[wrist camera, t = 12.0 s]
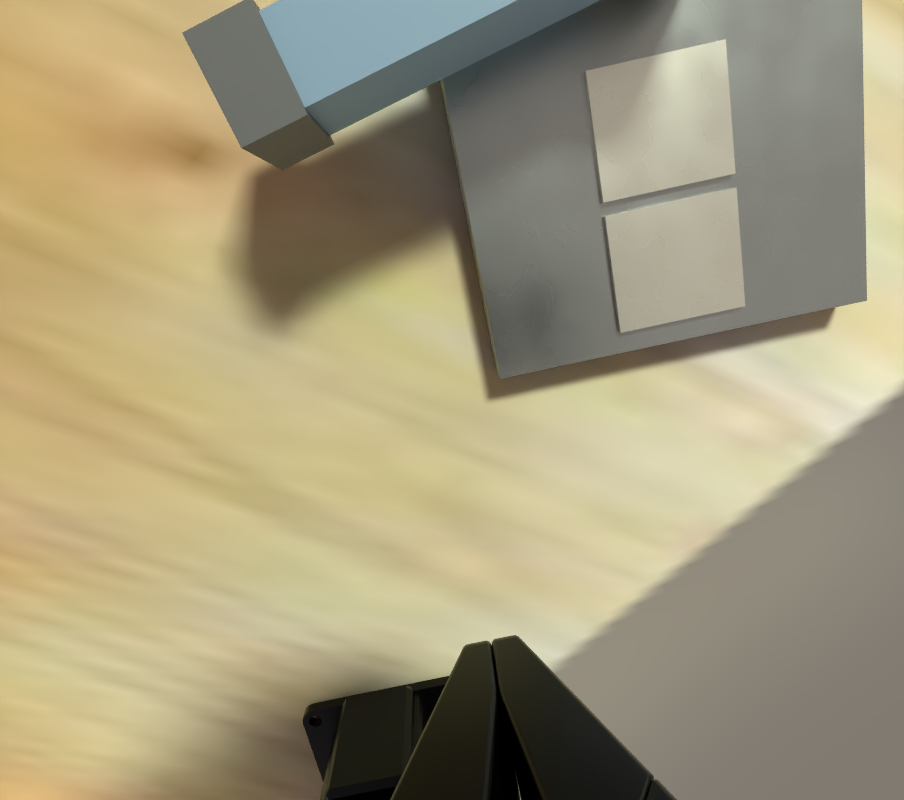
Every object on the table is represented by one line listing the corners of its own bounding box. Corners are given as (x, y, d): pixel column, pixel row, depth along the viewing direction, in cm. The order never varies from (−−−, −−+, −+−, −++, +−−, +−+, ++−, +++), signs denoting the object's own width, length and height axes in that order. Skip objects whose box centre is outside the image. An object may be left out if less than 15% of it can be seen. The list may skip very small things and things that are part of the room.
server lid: (840, 297, 19) (888, 302, 17) (496, 371, 19) (503, 385, 17) (828, -118, 16) (886, -172, 14) (419, -23, 16) (417, -62, 14)
